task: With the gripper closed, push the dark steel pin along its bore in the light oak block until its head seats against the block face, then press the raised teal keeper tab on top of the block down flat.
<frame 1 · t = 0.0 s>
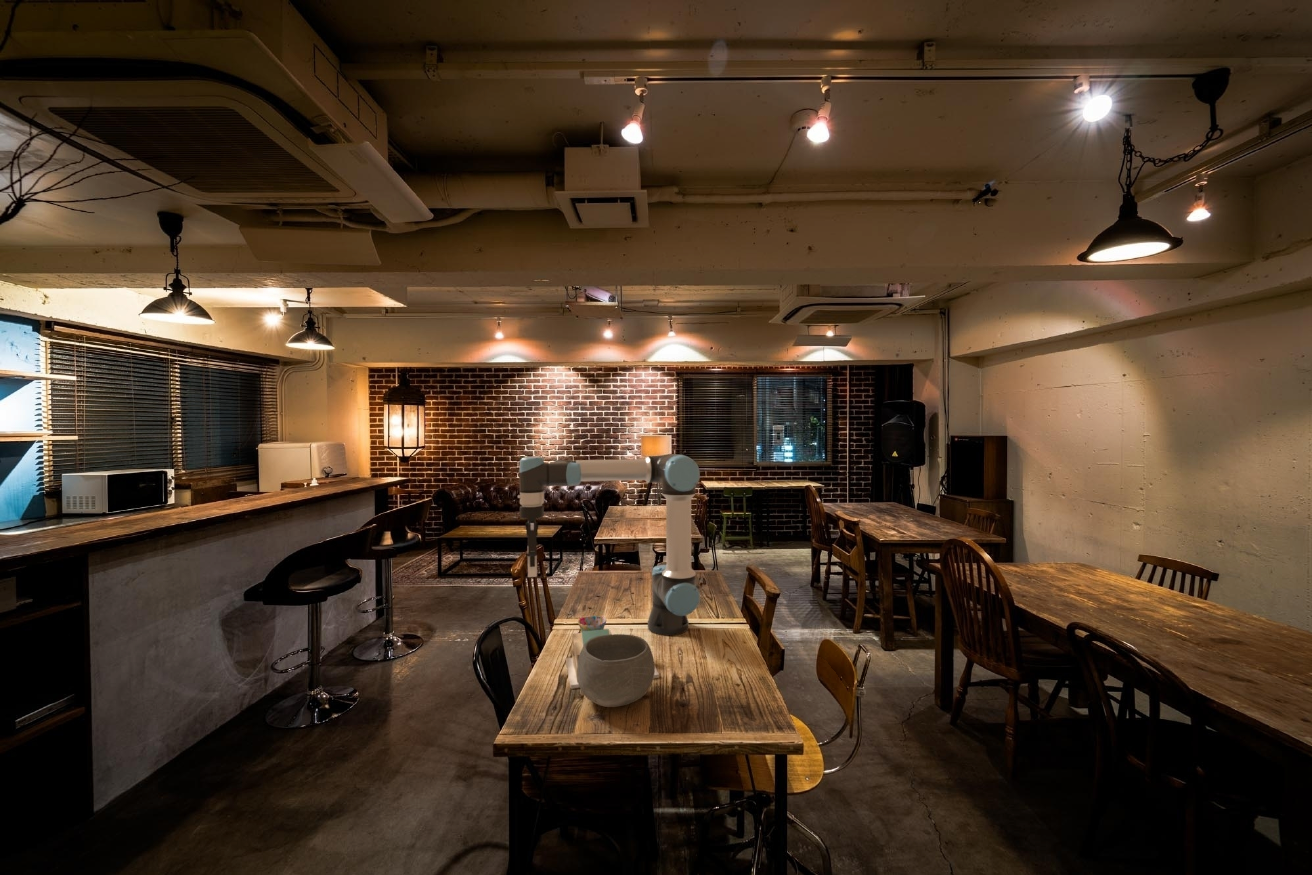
hand: (532, 570, 167), 28 cm above the table, fingers open, 13 cm apart
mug: (593, 651, 172), on the table
keeper tab: (596, 640, 153), point 11 cm above the table, hinge at 35.0°
bowl: (616, 701, 141), on the table
pin: (617, 647, 163), point 5 cm above the table, slide at 0.0 cm
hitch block: (594, 671, 158), on the table
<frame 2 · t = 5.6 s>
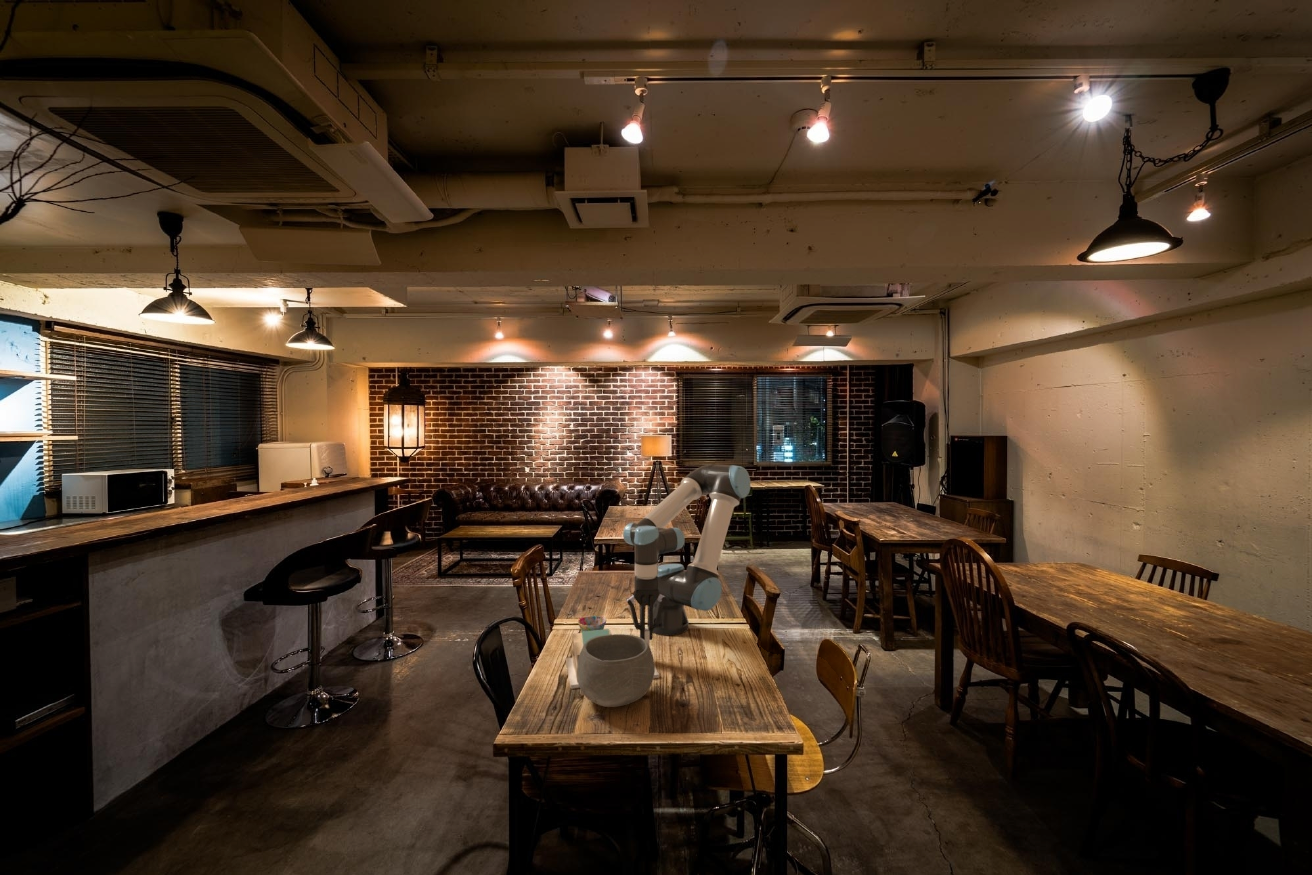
hand: (646, 649, 165), 4 cm above the table, fingers closed
pin: (616, 647, 163), point 5 cm above the table, slide at 0.4 cm, touching gripper
everything else where it was.
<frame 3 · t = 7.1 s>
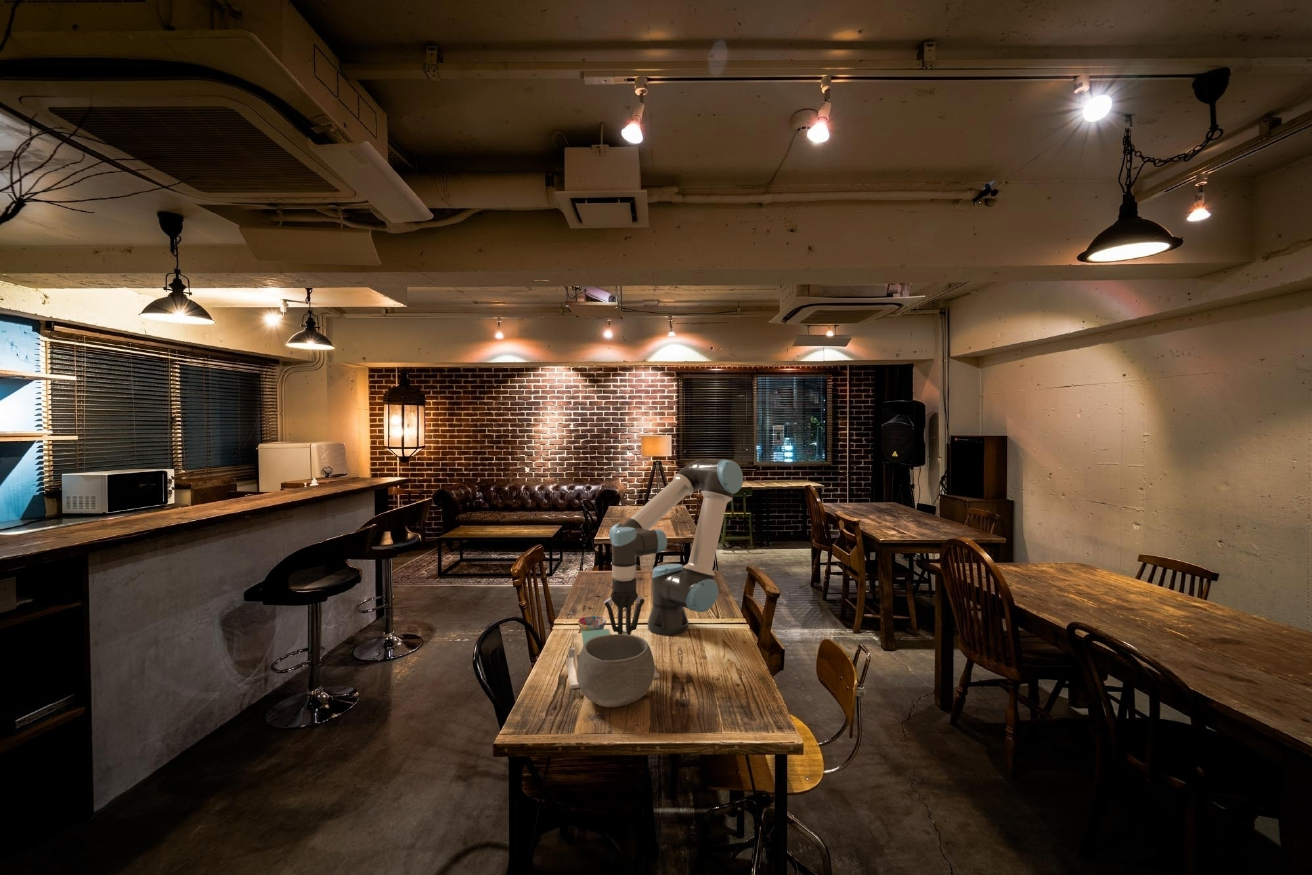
hand: (624, 652, 163), 3 cm above the table, fingers closed
pin: (593, 650, 161), point 5 cm above the table, slide at 7.5 cm, touching gripper
everything else where it was.
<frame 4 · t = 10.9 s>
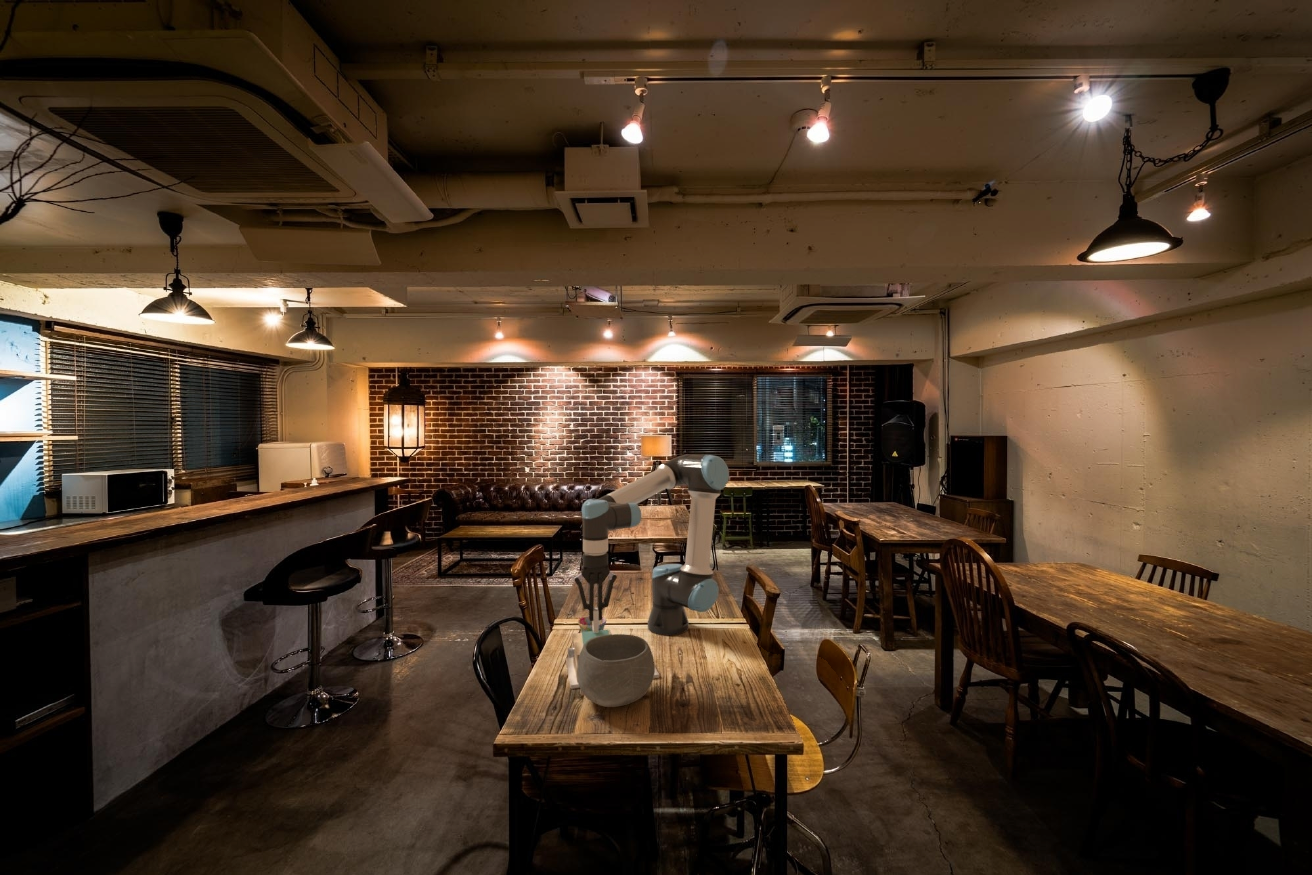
hand: (595, 630, 155), 13 cm above the table, fingers closed
keeper tab: (596, 640, 153), point 11 cm above the table, hinge at 32.1°, touching gripper
pin: (592, 650, 161), point 5 cm above the table, slide at 7.7 cm
everything else where it was.
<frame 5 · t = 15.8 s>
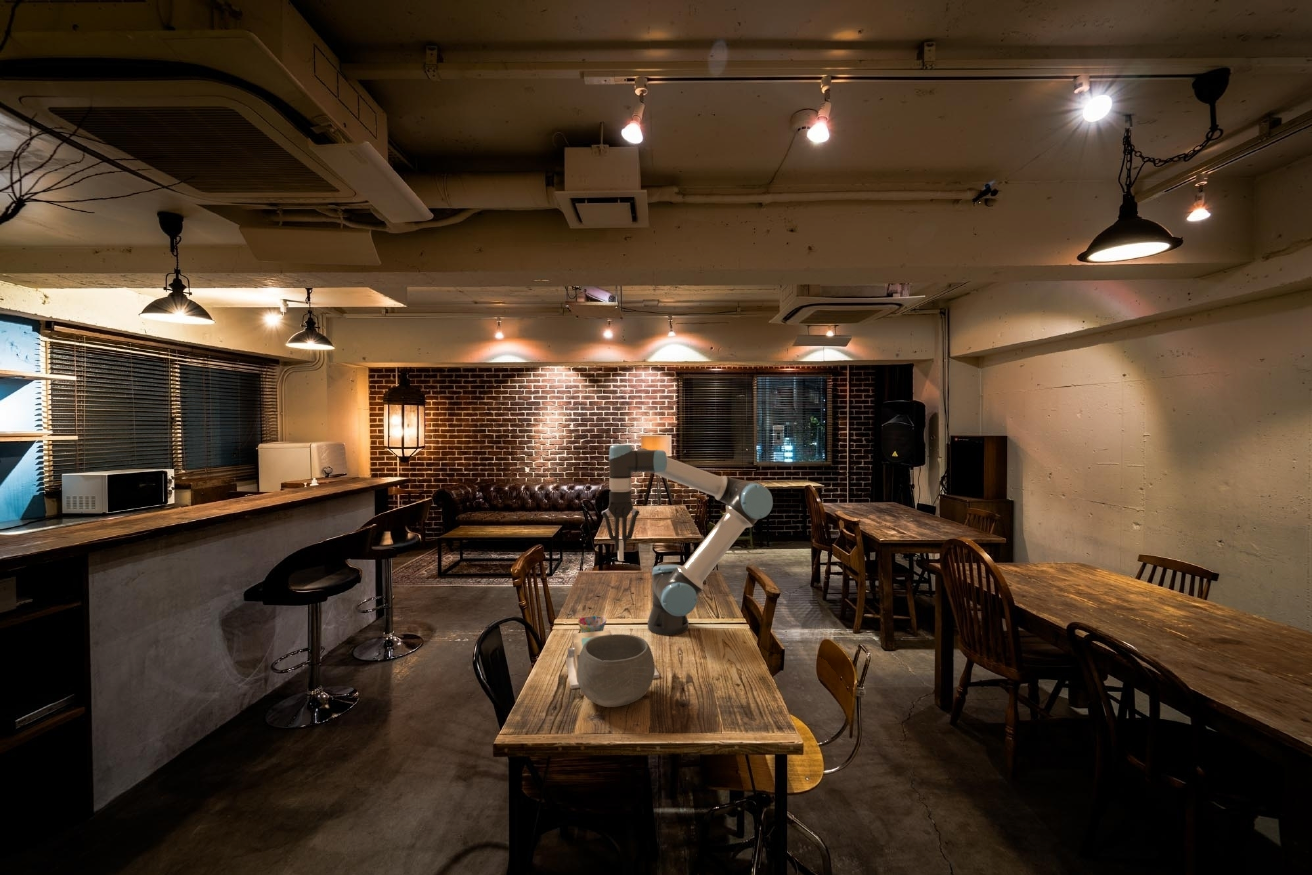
hand: (620, 559, 176), 29 cm above the table, fingers closed
keeper tab: (596, 643, 154), point 10 cm above the table, hinge at 6.9°
everything else where it was.
at the end: pin slide at 7.7 cm; keeper tab at +7° (first picture: +35°); keeper tab touching nothing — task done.
